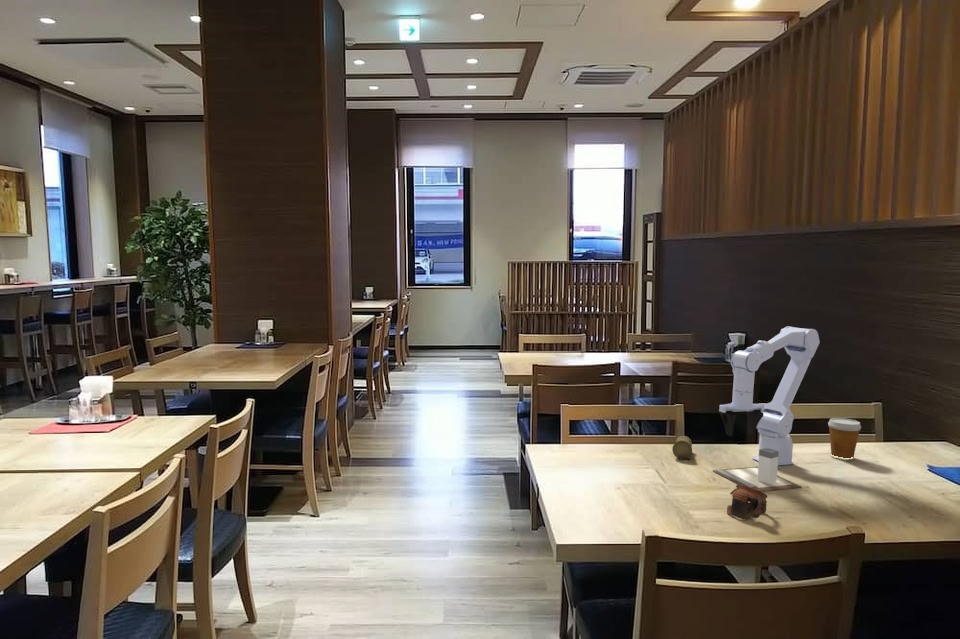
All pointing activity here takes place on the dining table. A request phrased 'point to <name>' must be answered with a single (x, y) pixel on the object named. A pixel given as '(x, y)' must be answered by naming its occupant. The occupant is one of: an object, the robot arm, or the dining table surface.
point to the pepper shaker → (682, 447)
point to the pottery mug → (747, 502)
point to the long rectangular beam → (768, 465)
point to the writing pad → (754, 479)
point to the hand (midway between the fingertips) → (739, 434)
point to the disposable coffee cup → (843, 436)
